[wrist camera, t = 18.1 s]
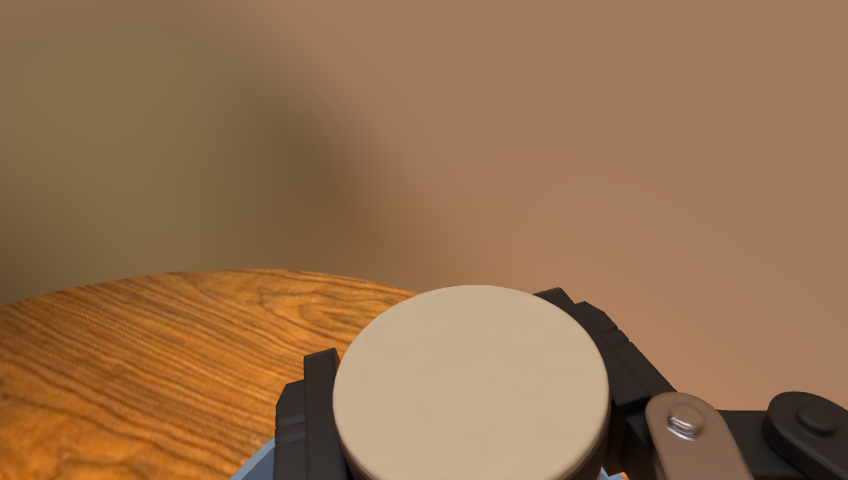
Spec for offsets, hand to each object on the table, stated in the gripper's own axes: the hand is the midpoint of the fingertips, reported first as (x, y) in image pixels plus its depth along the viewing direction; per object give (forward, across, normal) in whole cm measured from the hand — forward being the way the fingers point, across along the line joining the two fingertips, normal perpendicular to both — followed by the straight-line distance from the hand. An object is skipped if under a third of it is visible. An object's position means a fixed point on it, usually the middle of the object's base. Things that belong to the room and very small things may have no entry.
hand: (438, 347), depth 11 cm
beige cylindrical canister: (-3, 0, +10) cm, 10 cm away
